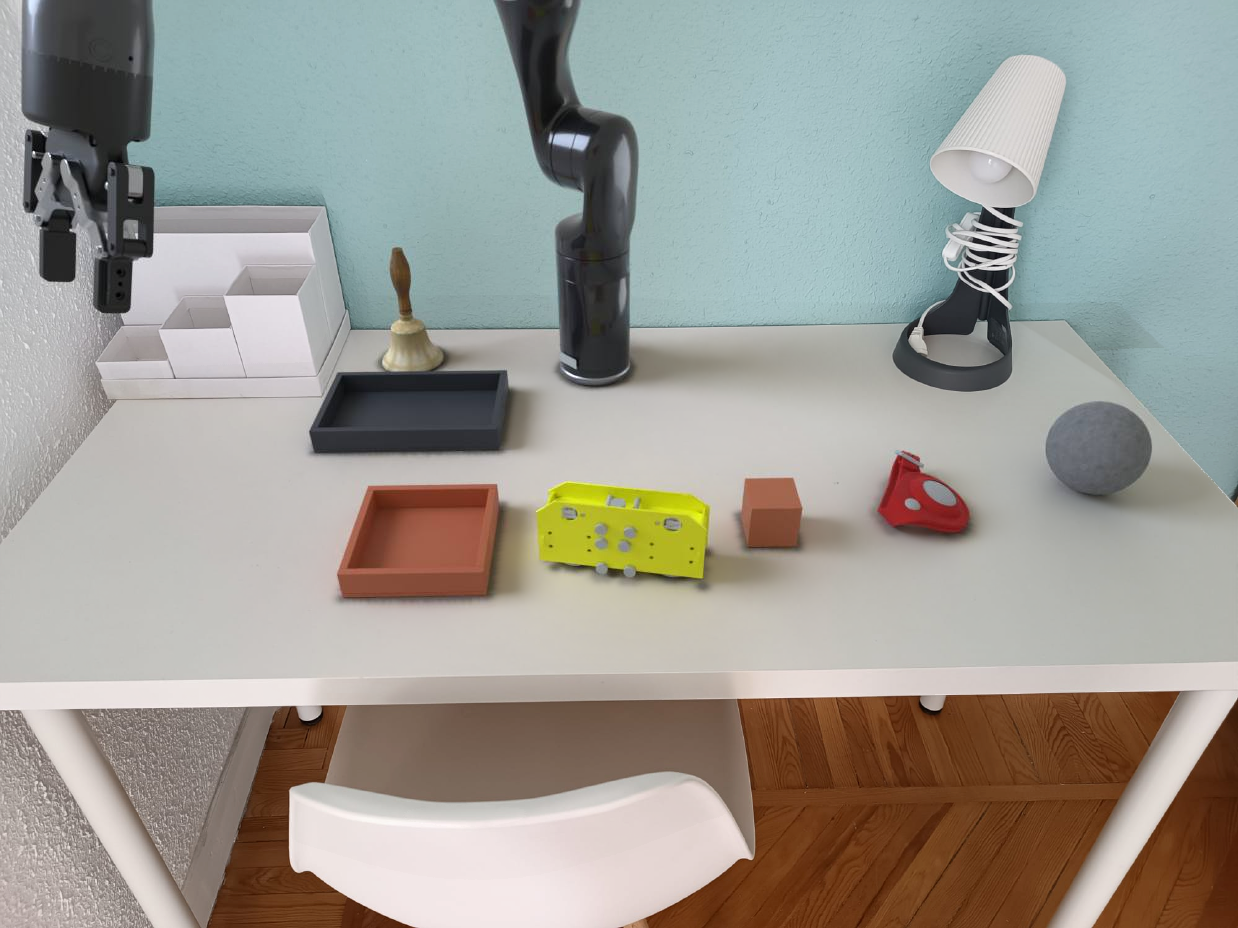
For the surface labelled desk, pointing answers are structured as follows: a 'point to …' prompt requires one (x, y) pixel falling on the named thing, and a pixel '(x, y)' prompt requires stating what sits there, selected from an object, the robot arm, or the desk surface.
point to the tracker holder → (921, 498)
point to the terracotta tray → (421, 541)
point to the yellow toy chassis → (624, 529)
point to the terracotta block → (771, 512)
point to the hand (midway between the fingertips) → (83, 295)
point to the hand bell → (408, 327)
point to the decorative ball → (1098, 447)
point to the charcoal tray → (412, 411)
